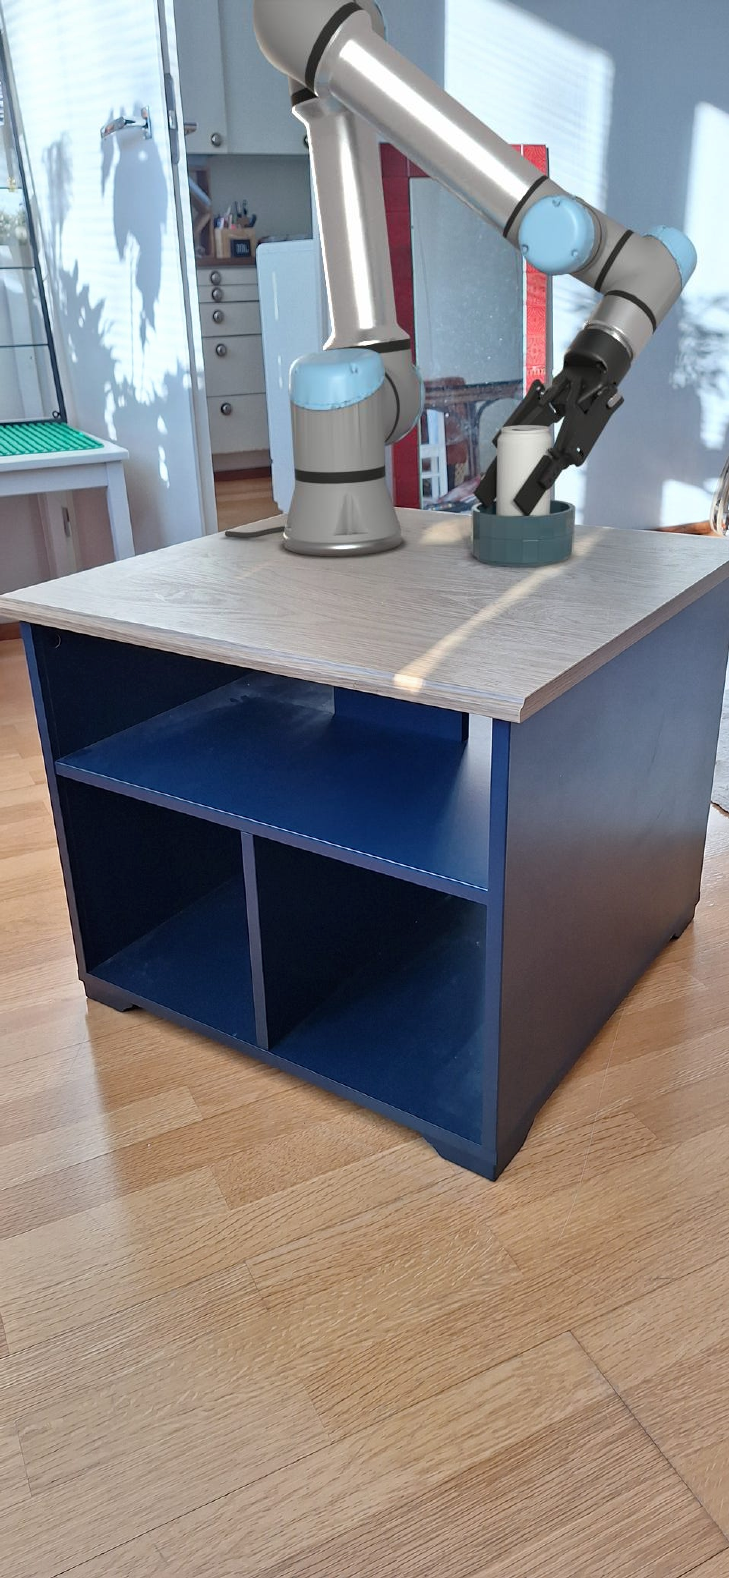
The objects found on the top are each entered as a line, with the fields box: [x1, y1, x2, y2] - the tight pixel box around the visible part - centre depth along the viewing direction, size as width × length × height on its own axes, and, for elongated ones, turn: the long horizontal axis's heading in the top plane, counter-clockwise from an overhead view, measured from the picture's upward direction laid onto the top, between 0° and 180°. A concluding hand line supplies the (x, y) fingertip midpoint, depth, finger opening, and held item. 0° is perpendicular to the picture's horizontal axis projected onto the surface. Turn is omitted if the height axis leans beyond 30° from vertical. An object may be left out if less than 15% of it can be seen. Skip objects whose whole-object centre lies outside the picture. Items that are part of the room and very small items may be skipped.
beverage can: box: [495, 425, 554, 516], centre depth 132 cm, size 6×6×12 cm
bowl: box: [470, 498, 576, 568], centre depth 134 cm, size 12×12×6 cm
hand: (500, 504), depth 131 cm, fingers closed on beverage can, 6 cm apart
